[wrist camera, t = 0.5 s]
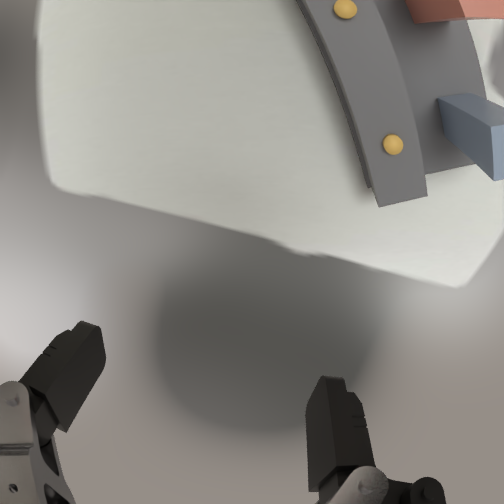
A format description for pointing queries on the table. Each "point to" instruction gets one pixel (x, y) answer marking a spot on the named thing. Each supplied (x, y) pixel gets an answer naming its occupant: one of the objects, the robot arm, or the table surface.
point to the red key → (454, 10)
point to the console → (395, 87)
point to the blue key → (476, 130)
